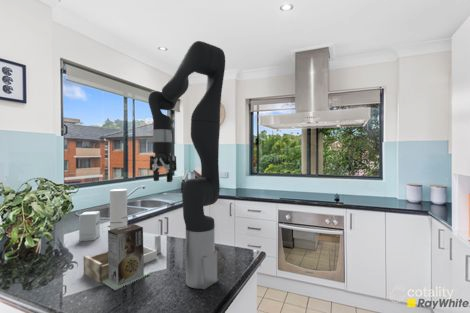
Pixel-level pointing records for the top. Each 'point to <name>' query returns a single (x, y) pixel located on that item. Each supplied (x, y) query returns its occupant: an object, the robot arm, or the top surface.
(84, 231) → the supplement box
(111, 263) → the coffee box
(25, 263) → the top surface
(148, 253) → the white frame with handle
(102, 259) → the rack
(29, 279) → the top surface
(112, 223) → the cylindrical container
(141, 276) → the mat
